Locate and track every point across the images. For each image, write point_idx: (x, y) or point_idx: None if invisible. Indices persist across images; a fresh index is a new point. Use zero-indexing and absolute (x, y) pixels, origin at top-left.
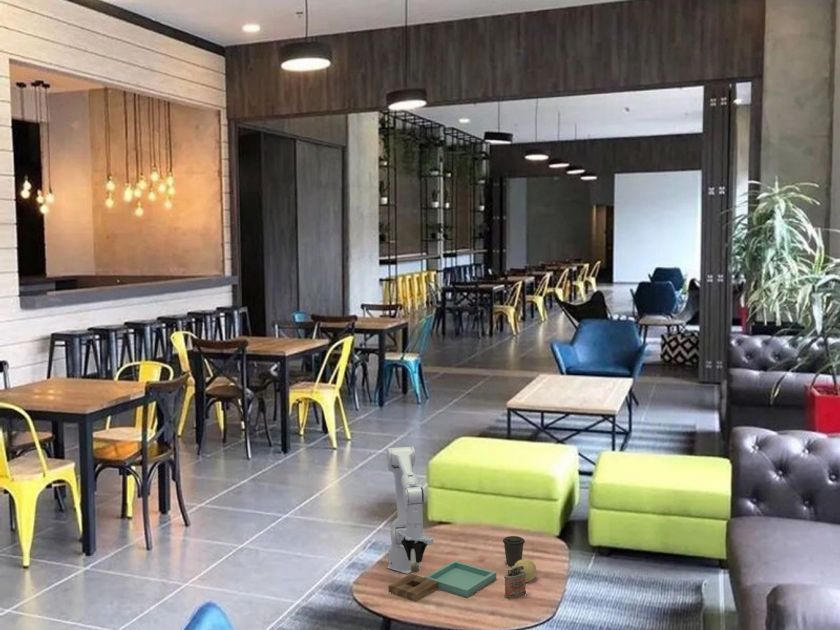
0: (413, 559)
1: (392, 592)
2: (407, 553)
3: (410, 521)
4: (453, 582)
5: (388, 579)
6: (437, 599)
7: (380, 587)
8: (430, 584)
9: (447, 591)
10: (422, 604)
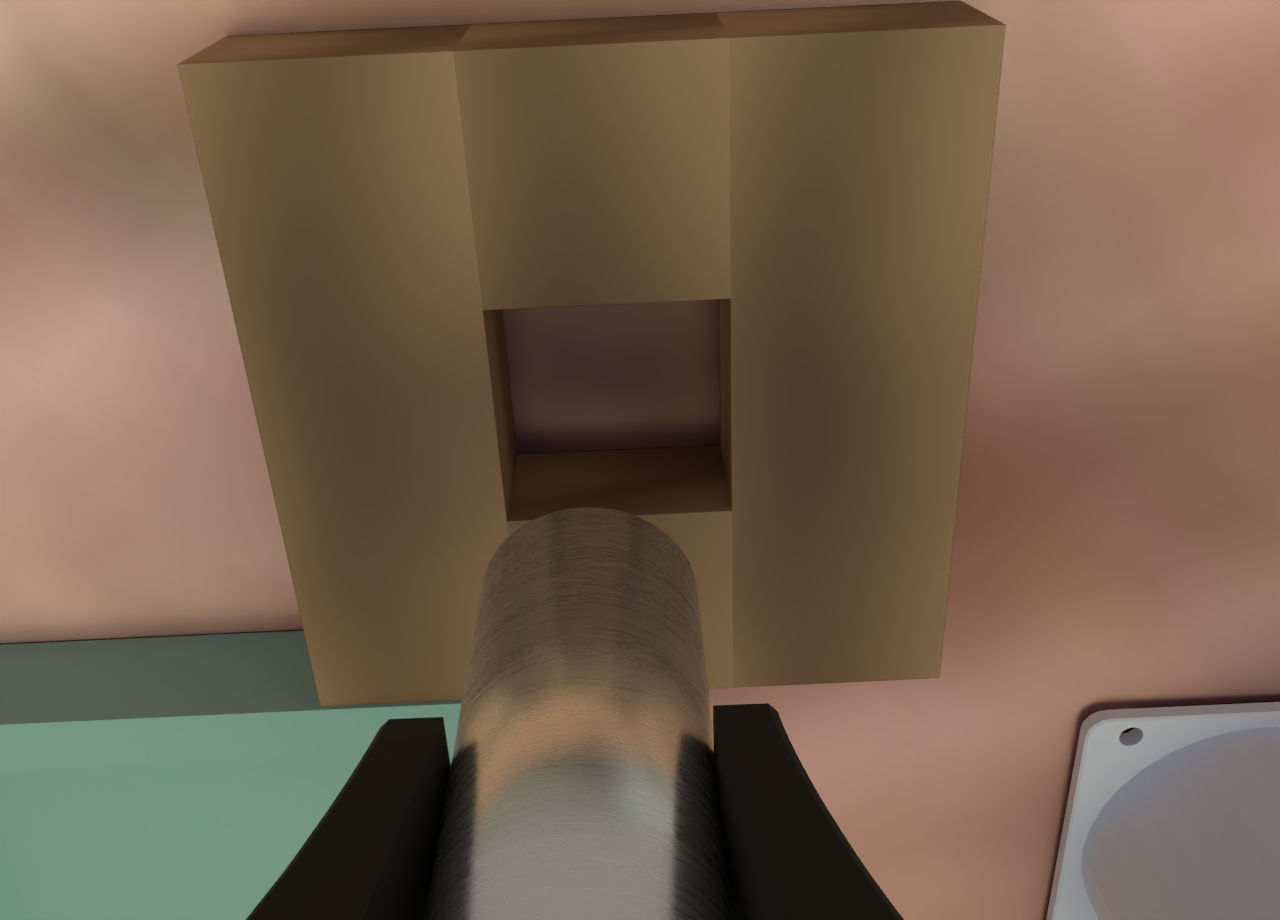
0: (522, 751)
1: (864, 10)
2: (794, 853)
3: None
4: None
5: (1275, 419)
6: (40, 351)
7: (1241, 73)
8: (334, 566)
9: (162, 641)
10: (46, 14)
